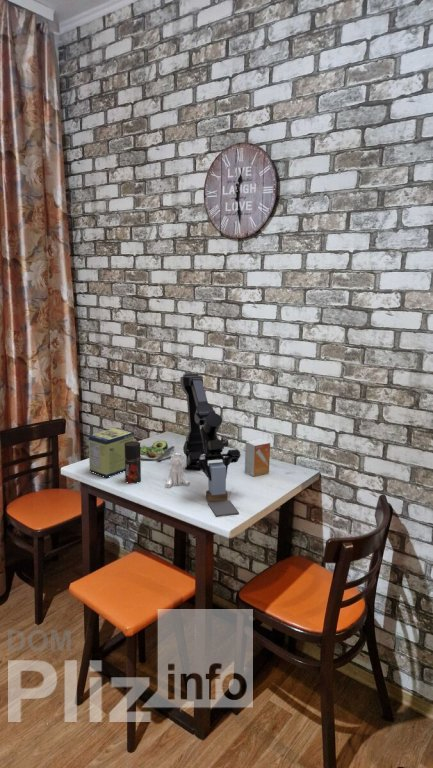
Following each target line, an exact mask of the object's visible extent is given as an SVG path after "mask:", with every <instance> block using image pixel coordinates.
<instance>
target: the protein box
mask: <svg viewBox="0 0 433 768" xmlns="http://www.w3.org/2000/svg"><path fill="white" fill-rule="evenodd" d="M130 441H135V432H134V431H131V430H127V429H124V428H120V427H113V428H110V429H107V430H104V431H100V432H97V433H94V434H89V436H88V452H89V453H88V455H89V456H88V458H89V460H88V461H89V462H88V463H89V472H90V471H91V472H94V473H96V474H99V475H101V476H100V477H102V476H104V477H103V478H105V477H109V476H112V475H114V476H116V475H115V474H117V475H119V474H121V473H120V472H122V473H124V472H123V471H125V443H126V442H130ZM118 473H119V474H118ZM96 474H95V475H96ZM99 475H98V476H99ZM112 477H113V476H112ZM109 478H110V477H109Z"/></svg>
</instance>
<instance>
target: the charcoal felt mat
mask: <svg viewBox="0 0 433 768" xmlns="http://www.w3.org/2000/svg"><path fill="white" fill-rule="evenodd" d="M207 505H208V507H209V508H210V509H211V511H212V513H213V514H214V516H215V517H216V518H218V517H227V516H237V515H240V512H239V511H238V509H237V507H236V506H235V505H234V504H233V502H232V501H231V500H228V501H220V502H211V503H207Z"/></svg>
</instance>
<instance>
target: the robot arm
mask: <svg viewBox="0 0 433 768" xmlns="http://www.w3.org/2000/svg"><path fill="white" fill-rule="evenodd" d="M179 382H180V386H181V387H182V389H181V390H182V391H183V393H184V394H185V396H186V402H187V403H186V404H187V406H186V407H187V418H188V419H187V420H188V430H189V431H188V432H187V434H186V437H185V441H184V444H183V449H182V450H183V453H184V454H183V455H185V457H186V459H185V460H186V462H185V463H186V466H185V470H189V471H191V470H192V471H202V472H203V473H204V475H205V476H206V478H207V479H209V480H210V481H211V480H212V479H211V474H210V470H209V467H208V465H209V463H208V462H209V461H221V462H222V463H223V464H224V465H225V466H226V478H227V477H228V476H227V475H228V468H229V465H230V464H231V463H232V464H233V463H234V464H235V463H237V462H238V461H239V459H241V451H240V450H239V449H237V448H235V449H228V451H227V452H226V453H223V450H224V449H225V447H228V446H229V438H228V437H226V436H225V437H221V439H219V437H218V434H217V433H218V432H219V430H220V428H221V426H222V423H223V418H222V417H221V415H220V414H218V413H216V410H214V407H213V405H211V404H210V403H209V402H208V398H207V396H206V391H205V387H204V376H203V375H199V373H183V375H182V376H181V377H180V381H179Z"/></svg>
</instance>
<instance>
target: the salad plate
mask: <svg viewBox="0 0 433 768" xmlns="http://www.w3.org/2000/svg"><path fill="white" fill-rule="evenodd" d="M174 449H175V446H173V445H172V446H169V445H168V443H167V441H165V440H157V441H155V442H153V443H152V445H142V446H141V445H140V454H141V461H149V462H150V461H151V462H152V461H162V460H165V459H169V458H171V457H170V455H174V451H173V450H174ZM144 456H148V457H144Z"/></svg>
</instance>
